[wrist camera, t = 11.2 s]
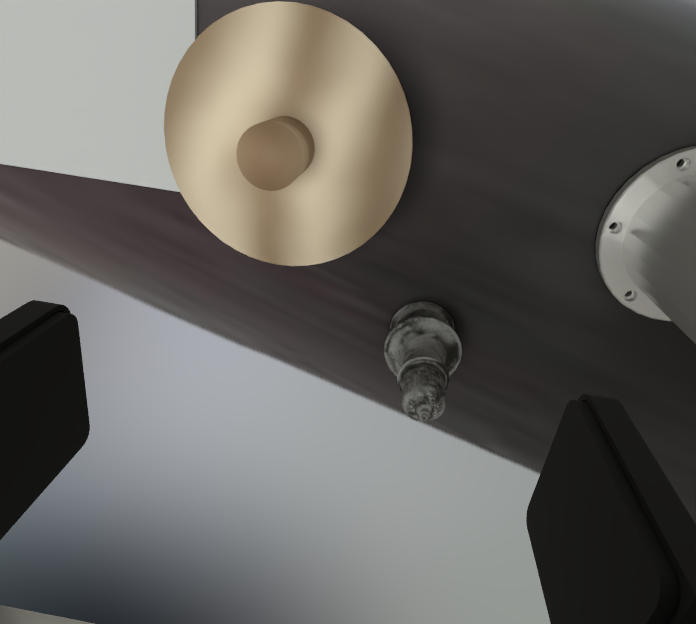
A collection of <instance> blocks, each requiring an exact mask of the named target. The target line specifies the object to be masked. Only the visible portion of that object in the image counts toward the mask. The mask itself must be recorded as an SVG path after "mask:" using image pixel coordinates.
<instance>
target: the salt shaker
mask: <svg viewBox="0 0 696 624" xmlns="http://www.w3.org/2000/svg"><path fill="white" fill-rule="evenodd" d="M461 355H462V348H461V342H460V340H459V337H458V335H457V334H456V332H455V329H454V323H453V320H452V318H451V316H450V315H449V314H448V312H447V311H446V310H445V309H443V308H442V307H440V306H439V305H436V304H434V303H431V302H423V301H421V302H413V303H411V304H408V305H405V306H404V307H403V308H401V309H400V310H399V311H398V312H397V313H396V314H395V315H394V317H393V319H392V321H391V324H390V333H389V334H388V336H387V339H386V341H385V346H384V356H385V361H386V363H387V365H388V367H389V368H390V370H391V371H392V372H393V373H394V374H395V375H396V376H397V382H398V386H399V388H400V390H401V391H402V407H403V409H404V411H405V413H406V414H407V415H408V416H409V417H410V418H412V419H413V420H416V421H420V422H428V421H432V420H434V419H436V418H438V417H439V416H440V415H441V414H442V413H443V411H444V410H445V406H446V394H445V391H446V389H447V387H448V385H449V381H450V377H449V376H450V375H451V374H452V373H453V372H454V371H455V370H456V368H457V366H458V364H459V363H460V360H461Z"/></svg>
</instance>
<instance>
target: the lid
mask: <svg viewBox="0 0 696 624" xmlns="http://www.w3.org/2000/svg"><path fill="white" fill-rule="evenodd" d="M164 136H165V147H166V151H167V156H168V161H169V165H170V167H171V170H172V173H173V176H174V179H175V181H176V184H177V186H178V188H179V190H180V192H181V194H182V196H183V197H184V199H185V201H186V202H187V204H188V206H189V207H190V209H191V210H192V211H193V212H194V214H195V215H196V216H197V218H198V219H199V220H200V221H201V222H202V223H203V224H204V225H205V226H206V227H207V228H208V229H209V230H210V231H211V232H212V233H213V234H214V235H215V236H217V237H218V238H219V239H220V240H222V241H223V242H224V243H226V244H227V245H229V246H231V247H232V248H234V249H235V250H237V251H239V252H241V253H243V254H245V255H247V256H249V257H252V258H255V259H258V260H261V261H264V262H268V263H273V264H277V265H287V266H307V265H314V264H320V263H324V262H327V261H331V260H334V259H337V258H339V257H341V256H344V255H346V254H348V253H350V252H352V251H353V250H355V249H356V248H358V247H360V246H361V245H363V244H364V243H365V242H366V241H368V240H369V239H370V238H371V237H372V236H374V235H375V233H376V232H377V231H378V230H379V229H380V228H381V227H382V226H383V225H384V224H385V222H386V221H387V220H388V218H389V217H390V215H391V214H392V213H393V211H394V209H395V207H396V205H397V204H398V202H399V200H400V198H401V195H402V193H403V190H404V188H405V185H406V182H407V178H408V174H409V170H410V166H411V156H412V125H411V119H410V112H409V108H408V104H407V101H406V97H405V94H404V91H403V89H402V87H401V84H400V82H399V80H398V77H397V76H396V74H395V72H394V70H393V69H392V67H391V65H390V64H389V62H388V60H387V59H386V58H385V57H384V55H383V54H382V53H381V51H380V50H379V49H378V48H377V46H376V45H375V44H374V43H373V42H372V41H371V40H370V39H369V38H368V37H367V36H365V35H364V34H363V33H362V32H361V31H359V30H358V29H357V28H355V27H354V26H353V25H351V24H350V23H349V22H347V21H345V20H344V19H342V18H340V17H338V16H336V15H334V14H333V13H331V12H328V11H325V10H323V9H320V8H317V7H315V6H311V5H306V4H301V3H296V2H280V1H276V2H266V3H258V4H254V5H251V6H247V7H243V8H241V9H238V10H236V11H234V12H232V13H229V14H227V15H225V16H224V17H222V18H221V19H219V20H218V21H216V22H214V23H213V24H211V25H210V26H209V27H208V28H207V29H206V30H205V31H204V32H202V33H201V34H200V35H199V36H198V37H197V38H196V40H195V41H194V42H193V43H192V44H191V46H190V47H189V48H188V49H187V51H186V53H185V54H184V56H183V57H182V59H181V61H180V62H179V64H178V66H177V69H176V71H175V73H174V75H173V78H172V80H171V84H170V87H169V91H168V94H167V99H166V106H165V112H164Z"/></svg>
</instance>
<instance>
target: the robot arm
mask: <svg viewBox="0 0 696 624" xmlns="http://www.w3.org/2000/svg"><path fill="white" fill-rule="evenodd" d="M680 159H681V163H680V165H678V166H676V165H677V162H678V161H679V160H680ZM614 222H615V225H614V226H613V227H612V228H609V226H610V225H611V224H612V223H614ZM595 245H596V262H597V266H598V270H599V273H600V275H601V277H602V279H603V281H604V283H605V285H606V287H607V288H608V289H609V290H610V291H611V293H612V294H613V295H614V296H615V297H616V298H617V299H618V300H619V301H620V302H621V303H622V304H623V305H624V306H626V307H628V308H629V309H631V310H633V311H634V312H636V313H638V314H641V315H643V316H646V317H649V318H652V319H658V320H664V321H673V322H674V323H675V324H676V325H677V326H678V327H679V328H680V329H681V330H682V331H683V332H684V333H685V334H686V335H687V336H688V337H689V338H690V339H691V340H692V341H693V342H694V343H695V344H696V146H692V147H687V148H683V149H679V150H677V151H674V152H672V153H669V154H667V155H664V156H662V157H660V158H658V159H657V160H655V161H653V162H651V163H650V164H648V165H646V166H645V167H643V168H642V169H641V170H640V171H638V172H637V173H636V174H635V175H634V176H632V177H631V178H630V179H629V180H628V181H627V182H626V183H625V184H624V185H623V186H622V187H621V189H620V190H619V191H618V192H617V193H616V194H615V196H614V197H613V199H612V200H611V202H610V204H609V205H608V207H607V208H606V210H605V212H604V215H603V217H602V220H601V222H600V224H599V227H598V232H597V238H596V243H595ZM628 291H629V293H628V294H626V293H627V292H628ZM82 364H83V363H82V354H81V346H80V337H79V329H78V322H77V318H76V317H75V316H74V315H73V314H70V311H69V310H68V308H67V307H66V306H64V305H60V304H54V303H48V302H42V301H35V300H33V301H30V302H28V303H26V304H24V305H23V306H21V307H20V308H18V309H16V310H15V311H13V312H11V313H9V314H8V315H6V316H4V317H3V318H1V319H0V540H1V539H2V537H3V536H4V535H5V534H6V533H7V532H8V531H9V529H10V528H11V527H12V526H13V525H14V524H15V523H16V522H17V520H18V519H19V518H20V517H21V516H22V515H23V513H24V512H25V511H26V510H27V509H28V508H29V506H31V504H32V503H33V502H34V501H35V500H36V499H37V497H39V495H40V494H41V493H42V492H43V491H44V490H45V488H46V487H47V486H48V485H49V484H50V483H51V482H52V481H53V479H54V478H55V477H56V476H57V475H58V474H59V473H60V471H61V470H62V469H63V468H64V467H65V466H66V464H67V463H68V462H69V461H70V460H71V459H72V458H73V457H74V456H75V454H76V453H77V452H78V451H79V450H80V449H81V448H82V446H83V445H84V443H85V442H86V440H87V438H88V435H89V430H90V428H89V427H90V425H89V416H88V408H87V398H86V390H85V381H84V372H83V365H82ZM527 529H528V533H529V537H530V541H531V545H532V549H533V553H534V557H535V561H536V565H537V569H538V573H539V577H540V582H541V586H542V590H543V594H544V598H545V602H546V606H547V610H548V614H549V618H550V622H551V624H696V524H695V523H694V521H693V519H692V518H691V516H690V515H689V513H688V511H687V510H686V508H685V506H684V505H683V503H682V502H681V500H680V498H679V497H678V495H677V493H676V492H675V490H674V489H673V487H672V485H671V484H670V482H669V481H668V479H667V477H666V476H665V474H664V472H663V471H662V469H661V468H660V466H659V464H658V463H657V461H656V459H655V458H654V456H653V455H652V453H651V451H650V450H649V448H648V446H647V445H646V443H645V442H644V440H643V438H642V437H641V435H640V434H639V432H638V430H637V429H636V427H635V425H634V424H633V422H632V421H631V419H630V417H629V416H628V414H627V412H626V411H625V409H624V408H623V406H622V404H621V403H620V402H619V401H618V400H616V399H612V398H606V397H600V396H594V395H588V394H583V395H581V396H580V398H579V399H578V401H577V400H571V401H569V403H568V404H567V406H566V409H565V411H564V414H563V416H562V419H561V422H560V424H559V427H558V430H557V432H556V435H555V437H554V440H553V443H552V445H551V448H550V451H549V453H548V456H547V458H546V461H545V464H544V466H543V469H542V472H541V474H540V477H539V480H538V482H537V485H536V487H535V490H534V493H533V495H532V498H531V501H530V503H529V506H528V509H527ZM0 624H93V623H87V622H83V621H78V620H73V619H68V618H62V617H57V616H52V615H47V614H42V613H36V612H32V611H26V610H21V609H16V608H11V607H6V606H1V605H0Z"/></svg>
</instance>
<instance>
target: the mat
mask: <svg viewBox="0 0 696 624" xmlns="http://www.w3.org/2000/svg"><path fill="white" fill-rule="evenodd" d="M196 38H197V0H0V164H5V165H12V166H18V167H25V168H31V169H37V170H44V171H50V172H56V173H63V174H69V175H76V176H82V177H88V178H95V179H101V180H107V181H114V182H120V183H127V184H133V185H139V186H146V187H152V188H158V189H165V190H171V191H177V192H180V190H179V188H178V186H177V184H176V181H175V179H174V176H173V173H172V170H171V167H170V165H169V161H168V156H167V151H166V147H165V136H164V112H165V106H166V99H167V94H168V91H169V87H170V84H171V80H172V78H173V75H174V73H175V71H176V69H177V66H178V64H179V62H180V61H181V59H182V57H183V56H184V54H185V53H186V51H187V49H188V48H189V47H190V46H191V44H192V43H193V42H194V41H195V40H196Z"/></svg>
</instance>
